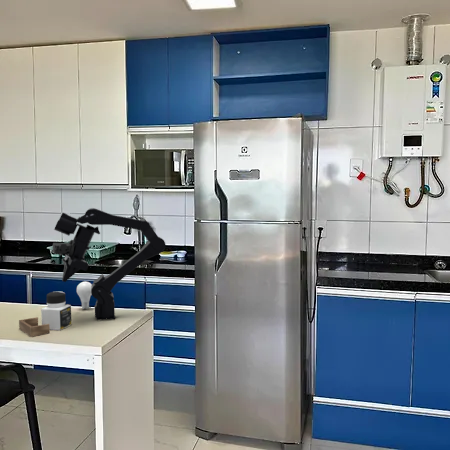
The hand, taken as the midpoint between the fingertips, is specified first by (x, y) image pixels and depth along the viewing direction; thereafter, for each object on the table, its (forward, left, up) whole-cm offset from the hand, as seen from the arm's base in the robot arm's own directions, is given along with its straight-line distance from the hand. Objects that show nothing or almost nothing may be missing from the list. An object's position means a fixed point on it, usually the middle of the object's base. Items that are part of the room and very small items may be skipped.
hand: (63, 281), depth 169 cm
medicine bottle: (+3, +7, -15) cm, 16 cm away
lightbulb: (-8, -15, -15) cm, 23 cm away
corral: (+10, +10, -14) cm, 20 cm away
